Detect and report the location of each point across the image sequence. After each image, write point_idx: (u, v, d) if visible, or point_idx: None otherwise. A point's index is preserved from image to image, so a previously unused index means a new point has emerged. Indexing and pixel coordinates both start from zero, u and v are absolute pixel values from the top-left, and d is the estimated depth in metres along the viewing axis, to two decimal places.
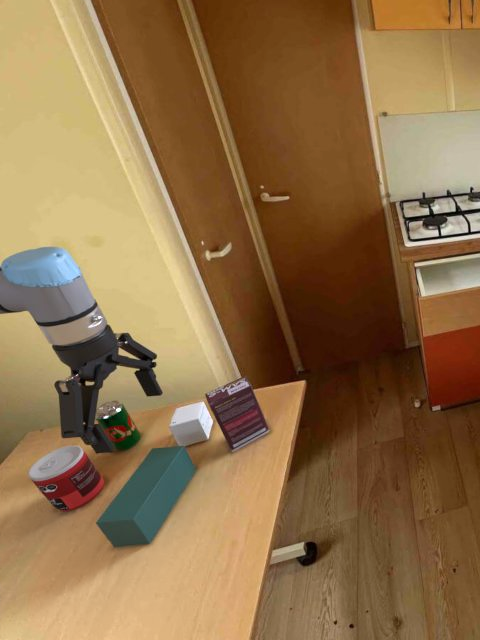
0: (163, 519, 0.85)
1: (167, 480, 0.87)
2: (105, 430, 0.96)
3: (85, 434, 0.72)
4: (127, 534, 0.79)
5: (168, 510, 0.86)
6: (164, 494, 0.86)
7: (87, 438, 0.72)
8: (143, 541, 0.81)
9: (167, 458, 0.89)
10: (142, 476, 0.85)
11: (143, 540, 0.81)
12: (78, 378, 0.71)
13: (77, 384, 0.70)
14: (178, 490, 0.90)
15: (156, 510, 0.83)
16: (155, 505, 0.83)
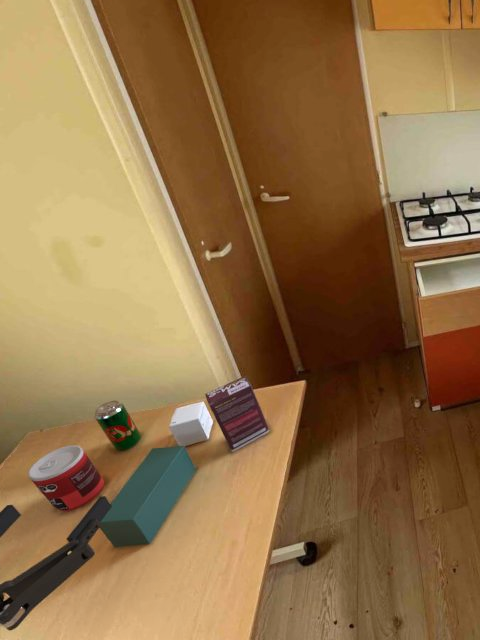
0: (163, 519, 0.85)
1: (167, 480, 0.87)
2: (105, 430, 0.96)
3: None
4: (127, 534, 0.79)
5: (168, 510, 0.86)
6: (164, 494, 0.86)
7: None
8: (143, 541, 0.81)
9: (167, 458, 0.89)
10: (142, 476, 0.85)
11: (143, 540, 0.81)
12: None
13: None
14: (178, 490, 0.90)
15: (156, 510, 0.83)
16: (155, 505, 0.83)
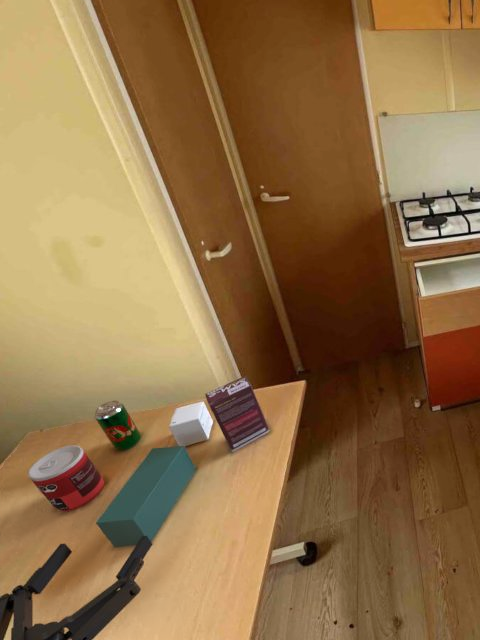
0: (163, 519, 0.85)
1: (167, 480, 0.87)
2: (105, 430, 0.96)
3: None
4: (127, 534, 0.79)
5: (168, 510, 0.86)
6: (164, 494, 0.86)
7: None
8: None
9: (167, 458, 0.89)
10: (142, 476, 0.85)
11: None
12: None
13: None
14: (178, 490, 0.90)
15: (156, 510, 0.83)
16: (155, 505, 0.83)
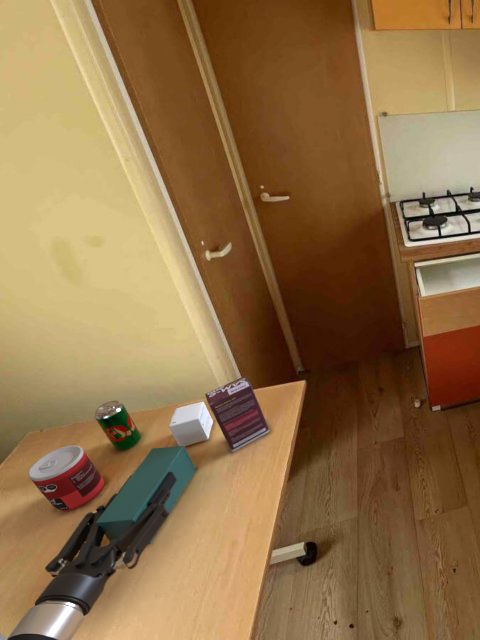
0: None
1: None
2: (105, 430, 0.96)
3: None
4: None
5: (168, 510, 0.86)
6: None
7: (109, 504, 0.82)
8: None
9: (167, 458, 0.89)
10: (142, 476, 0.85)
11: None
12: None
13: None
14: (178, 490, 0.90)
15: None
16: None
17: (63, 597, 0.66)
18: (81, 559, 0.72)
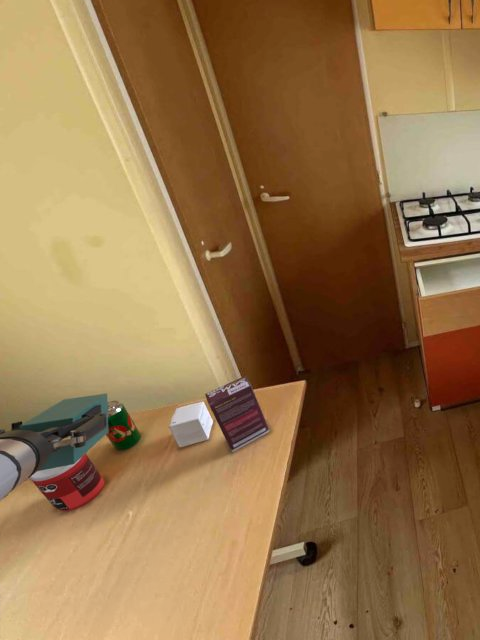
0: (84, 451, 0.76)
1: None
2: None
3: None
4: None
5: (88, 446, 0.77)
6: None
7: None
8: (67, 459, 0.72)
9: (90, 398, 0.83)
10: (64, 407, 0.78)
11: (67, 457, 0.72)
12: None
13: None
14: (96, 435, 0.81)
15: None
16: None
17: (18, 439, 0.60)
18: None
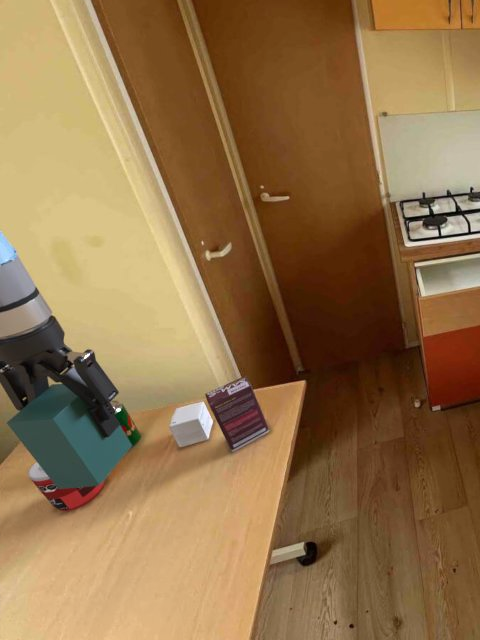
0: (69, 436, 0.66)
1: None
2: None
3: None
4: (54, 402, 0.67)
5: (75, 442, 0.67)
6: (97, 427, 0.71)
7: None
8: (52, 414, 0.65)
9: None
10: None
11: (55, 412, 0.65)
12: None
13: None
14: (90, 454, 0.70)
15: (86, 418, 0.69)
16: None
17: (50, 315, 0.66)
18: None
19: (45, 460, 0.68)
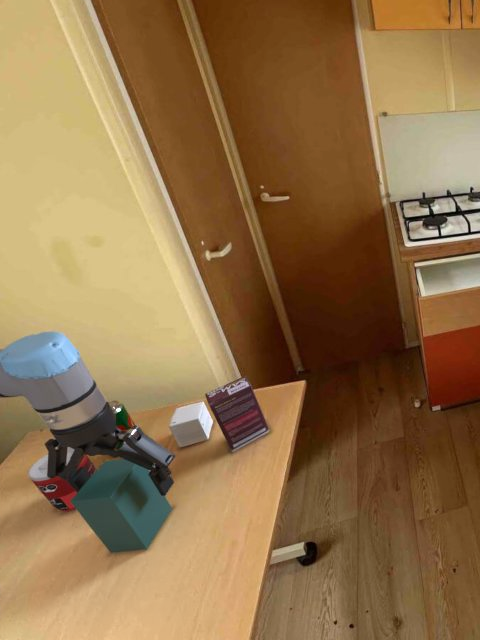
0: (123, 509, 0.76)
1: (153, 496, 0.83)
2: None
3: None
4: (109, 479, 0.76)
5: (127, 514, 0.77)
6: (144, 497, 0.80)
7: None
8: (109, 492, 0.74)
9: None
10: None
11: (111, 490, 0.74)
12: None
13: (53, 447, 0.73)
14: (139, 523, 0.79)
15: (135, 491, 0.79)
16: (140, 487, 0.80)
17: None
18: None
19: (101, 530, 0.77)
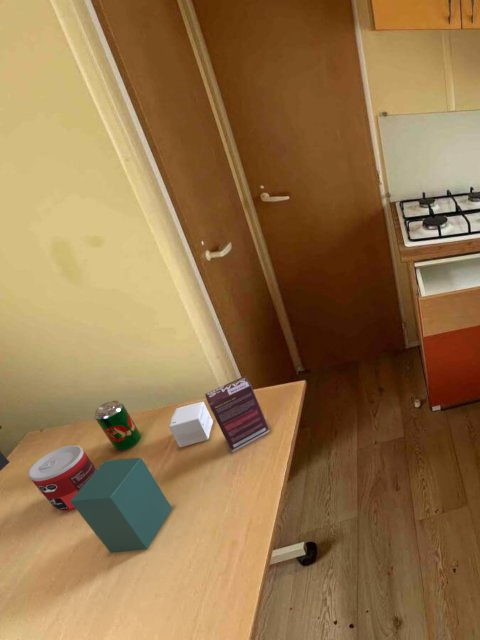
0: (123, 509, 0.76)
1: (153, 496, 0.83)
2: (105, 430, 0.96)
3: None
4: (109, 479, 0.76)
5: (127, 514, 0.77)
6: (144, 497, 0.80)
7: None
8: (109, 492, 0.74)
9: None
10: None
11: (111, 490, 0.74)
12: None
13: None
14: (139, 523, 0.79)
15: (135, 491, 0.79)
16: (140, 487, 0.80)
17: None
18: None
19: (101, 530, 0.77)
